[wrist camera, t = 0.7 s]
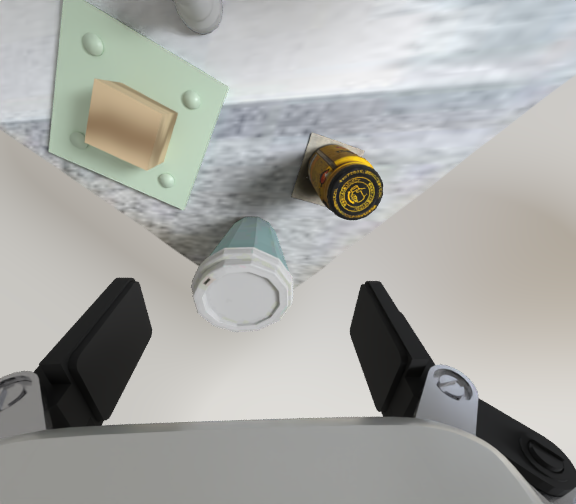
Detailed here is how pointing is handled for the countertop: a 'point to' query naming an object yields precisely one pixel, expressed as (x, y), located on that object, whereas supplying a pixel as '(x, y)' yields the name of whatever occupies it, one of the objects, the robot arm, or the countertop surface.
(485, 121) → the countertop surface
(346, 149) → the condiment
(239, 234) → the disposable coffee cup
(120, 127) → the oak brick
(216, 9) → the rook chess piece
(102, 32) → the build plate
